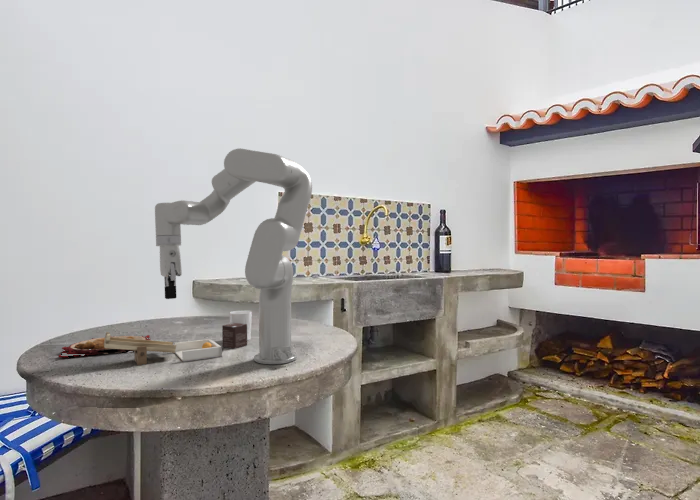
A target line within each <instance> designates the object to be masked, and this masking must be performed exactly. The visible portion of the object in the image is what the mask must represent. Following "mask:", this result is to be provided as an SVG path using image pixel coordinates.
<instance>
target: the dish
mask: <svg viewBox="0 0 700 500" xmlns="http://www.w3.org/2000/svg"><path fill="white" fill-rule="evenodd" d="M206 342H208V343H210V344H211V345H212V347H211V348H203V349H202V346H203V344H204V343H206ZM173 345H176V349H175V353H174V354H175V355H176V356H177V358H179V359H180V361H182V362H184V363H185V362H192V361H193V362H194V361H199V360H200V361H201V360H206V359H215V358H220V357H221V358H222V357H223V346H221V345H220V344H218V343H217V342H215V340H213V339H211V338H207V339H196V340H188V341H179V342H173Z"/></svg>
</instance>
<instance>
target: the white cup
mask: <svg viewBox="0 0 700 500" xmlns="http://www.w3.org/2000/svg"><path fill="white" fill-rule="evenodd" d="M252 314H253V311H252V310H233V311H230V312H229V324H232V323H240V324H247V341H250V340H251V338H252V336H251V335H252V333H251V332H252V324H253V323H252V321H253V315H252Z"/></svg>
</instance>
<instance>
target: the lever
mask: <svg viewBox="0 0 700 500" xmlns="http://www.w3.org/2000/svg"><path fill="white" fill-rule="evenodd" d="M110 336H112V335H111V333H110V332H109V331H106V332H105V340H104V347H105V348H111V349H113V350H118V349H126V350H125V351H128V350H137V347H140V346H146V347H147V352H159V353H171V354H172V353H173V354H175V349H176V345H174V342H173V341H166V340H160V339H159V340H158V339H153V340H152V339H151V340H140V339H128V338H115V337H116V336H115V337H113V336H112V337H110Z"/></svg>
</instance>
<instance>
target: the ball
mask: <svg viewBox="0 0 700 500" xmlns="http://www.w3.org/2000/svg"><path fill="white" fill-rule="evenodd" d="M211 347H212V345H211V344H210V343H208V342H206V343H204V344H203V346H202V349H203V348H211Z"/></svg>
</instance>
